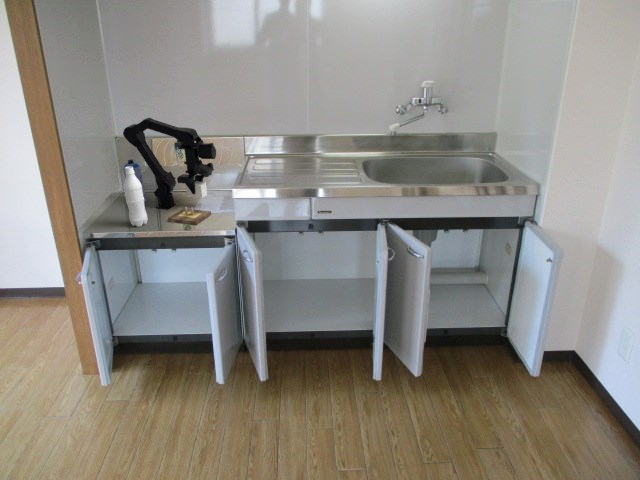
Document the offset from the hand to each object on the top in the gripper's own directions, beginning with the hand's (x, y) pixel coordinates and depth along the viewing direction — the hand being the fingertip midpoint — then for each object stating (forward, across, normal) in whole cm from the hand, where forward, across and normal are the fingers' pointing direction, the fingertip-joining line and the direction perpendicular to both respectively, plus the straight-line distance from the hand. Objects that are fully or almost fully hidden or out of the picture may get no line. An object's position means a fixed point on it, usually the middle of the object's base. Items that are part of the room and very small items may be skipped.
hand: (196, 192), depth 225 cm
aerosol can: (+7, -1, +32) cm, 33 cm away
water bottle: (+7, -24, +14) cm, 29 cm away
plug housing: (+2, 0, 0) cm, 2 cm away
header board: (+7, -12, -3) cm, 14 cm away
